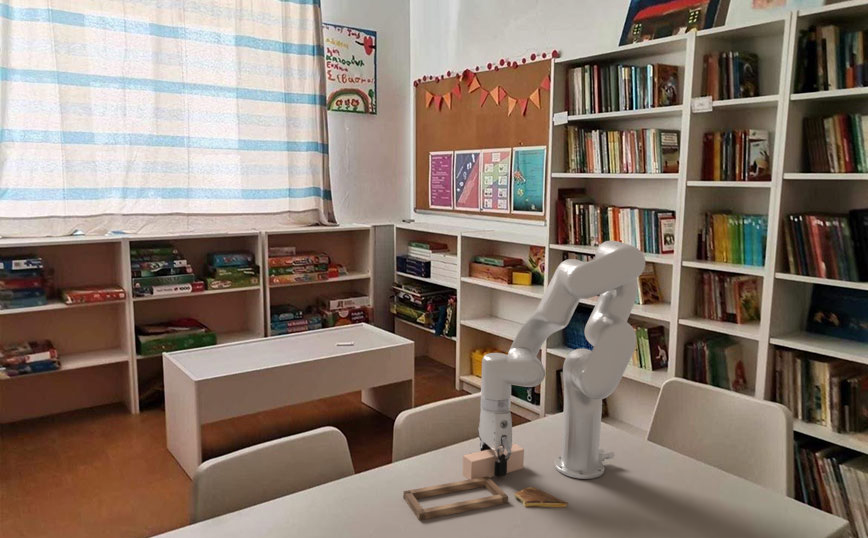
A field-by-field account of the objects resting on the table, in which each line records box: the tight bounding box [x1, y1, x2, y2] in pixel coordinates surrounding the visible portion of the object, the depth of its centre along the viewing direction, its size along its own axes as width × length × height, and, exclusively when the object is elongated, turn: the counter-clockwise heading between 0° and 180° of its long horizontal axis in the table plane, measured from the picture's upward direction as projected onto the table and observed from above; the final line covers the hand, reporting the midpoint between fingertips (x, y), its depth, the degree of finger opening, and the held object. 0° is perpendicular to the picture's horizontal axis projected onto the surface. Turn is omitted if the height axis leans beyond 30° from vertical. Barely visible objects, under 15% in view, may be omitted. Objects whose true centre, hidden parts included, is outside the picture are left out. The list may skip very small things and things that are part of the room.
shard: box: [513, 486, 569, 508], centre depth 148 cm, size 11×8×2 cm
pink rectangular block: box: [462, 443, 525, 480], centre depth 163 cm, size 16×4×6 cm, turn 119°
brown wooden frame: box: [402, 476, 509, 521], centre depth 149 cm, size 22×10×2 cm, turn 112°
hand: (493, 468), depth 164 cm, fingers open, 7 cm apart
